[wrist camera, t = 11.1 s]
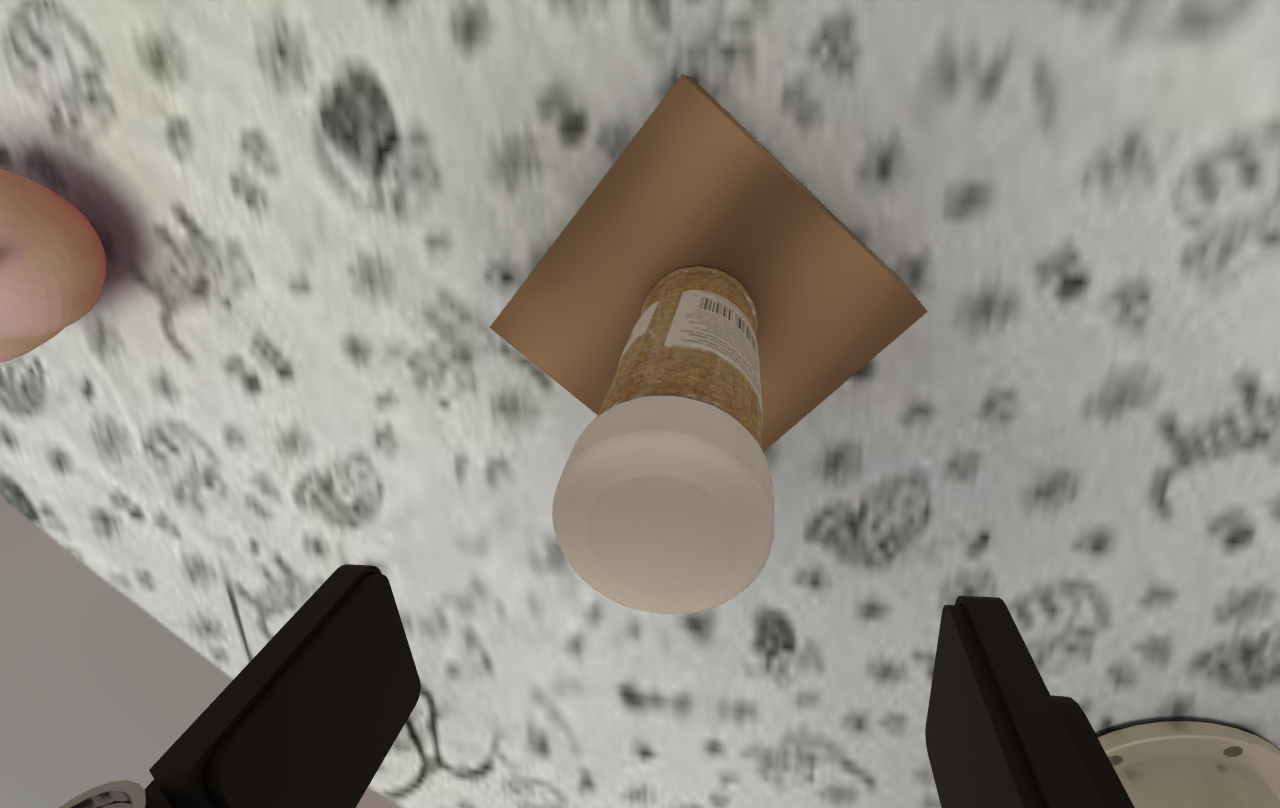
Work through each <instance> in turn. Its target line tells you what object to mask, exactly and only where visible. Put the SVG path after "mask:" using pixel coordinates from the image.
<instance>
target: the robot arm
mask: <svg viewBox="0 0 1280 808" xmlns="http://www.w3.org/2000/svg"><path fill="white" fill-rule="evenodd" d="M420 690H421V684H420V679H419V676H418V673H417V670H416V666H415V663H414V660H413V657H412V654H411V650H410V647H409V644H408V641H407V638H406V634H405V631H404V628H403V625H402V622H401V618H400V615H399V612H398V609H397V606H396V602H395V599H394V596H393V593H392V590H391V586H390V583H389V580H388V578H387V577H386V576H385V575H382V574H381V572H380V570H379V569H378V568H377V567H376V566H368V565H348V564H345V565H342V566H340V567H339V568H338V569H337V570H336V571H335V572H334V573H333V574H332V575H331V576H330V577H329V578H328V579H327V580H326V581H325V582H324V583H323V584H322V586H321V587H320V588H319V589H318V590H317V591H316V592H315V593H314V594H313V595H312V596H311V597H310V598H309V599H308V601H307V602H306V603H305V604H304V605H303V606H302V607H301V608H300V609H299V610H298V611H297V612H296V613H295V614H294V616H293V617H292V618H291V619H290V620H289V621H288V622H287V623H286V624H285V625H284V626H283V627H282V628H281V629H280V631H279V632H278V633H277V634H276V635H275V636H274V637H273V638H272V639H271V640H270V641H269V642H268V643H267V644H266V646H265V647H264V648H263V649H262V650H261V651H260V652H259V653H258V654H257V655H256V656H255V657H254V658H253V659H252V661H251V662H250V663H249V664H248V665H247V666H246V667H245V668H244V669H243V670H242V671H241V672H240V673H239V674H238V676H237V677H236V678H235V679H234V680H233V681H232V682H231V683H230V684H229V685H228V686H227V687H226V688H225V689H224V691H223V692H222V693H221V694H220V695H219V696H218V697H217V698H216V699H215V700H214V701H213V702H212V703H211V704H210V706H209V707H208V708H207V709H206V710H205V711H204V712H203V713H202V714H201V715H200V716H199V717H198V718H197V719H196V721H195V722H194V723H193V724H192V725H191V726H190V727H189V728H188V729H187V730H186V731H185V732H184V733H183V734H182V735H181V737H180V738H179V739H178V740H177V741H176V742H175V743H174V744H173V745H172V746H171V747H170V748H169V749H168V750H167V752H166V753H165V754H164V755H163V756H162V757H161V758H160V759H159V760H158V761H157V762H156V763H155V764H154V765H153V767H152V768H151V769H150V770H149V771H150V773H151V774H152V776H153V777H154V780H153V781H152V782H151V783H150V784H149V785H148V787H147V788H146V789H145V790H144V789H143V788H142V787H141V786H140V785H139V784H138V783H135V782H131V781H127V780H125V781H115V782H109V783H107V784H104V785H100V786H98V787H95V788H92V789H90V790H88V791H86V792H84V793H82V794H81V795H79V796H77V797H75V798H73V799H71V800H70V801H68V802H67V803H65V804H64V805H63V806H61V807H60V808H356V806H357V804H358V803H359V801H360V799H361V797H362V796H363V794H364V792H365V791H366V789H367V787H368V786H369V784H370V782H371V780H372V779H373V777H374V775H375V774H376V772H377V770H378V769H379V767H380V765H381V763H382V762H383V760H384V758H385V757H386V755H387V753H388V751H389V750H390V748H391V746H392V745H393V743H394V741H395V740H396V738H397V736H398V734H399V733H400V731H401V729H402V728H403V726H404V724H405V722H406V721H407V719H408V717H409V716H410V714H411V712H412V711H413V709H414V707H415V705H416V703H417V701H418V699H419V695H420ZM926 745H927V751H928V756H929V760H930V764H931V768H932V772H933V775H934V779H935V783H936V787H937V791H938V795H939V799H940V803H941V807H942V808H1280V750H1278V749H1277V748H1276V747H1275V746H1274V745H1272V744H1270V743H1269V742H1267V741H1265V740H1263V739H1262V738H1260V737H1258V736H1256V735H1253V734H1251V733H1248V732H1245V731H1242V730H1240V729H1237V728H1232V727H1228V726H1223V725H1218V724H1213V723H1205V722H1193V721H1167V722H1155V723H1148V724H1141V725H1135V726H1131V727H1127V728H1124V729H1120V730H1116V731H1112V732H1110V733H1108V734H1105V735H1103V736H1100V737H1098V738H1097V736H1096V734H1095V732H1094V730H1093V728H1092V726H1091V725H1090V723H1089V721H1088V719H1087V717H1086V715H1085V714H1084V712H1083V711H1082V709H1081V707H1080V706H1079V704H1078V703H1077V702H1075V701H1074V700H1073V699H1072V698H1070V697H1064V696H1051V695H1050V694H1049V692H1048V690H1047V688H1046V686H1045V684H1044V682H1043V680H1042V678H1041V676H1040V673H1039V671H1038V669H1037V667H1036V665H1035V663H1034V661H1033V659H1032V657H1031V655H1030V653H1029V651H1028V649H1027V647H1026V645H1025V643H1024V641H1023V639H1022V637H1021V635H1020V633H1019V631H1018V629H1017V627H1016V625H1015V623H1014V621H1013V619H1012V617H1011V614H1010V612H1009V610H1008V608H1007V606H1006V605H1005V603H1004V601H1003V600H1002V599H1000V598H994V597H974V596H958V598H957V599H956V603H955V605H944V607H943V610H942V617H941V624H940V631H939V638H938V645H937V652H936V659H935V666H934V673H933V680H932V687H931V694H930V701H929V708H928V715H927V722H926Z"/></svg>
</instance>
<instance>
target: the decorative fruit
mask: <svg viewBox="0 0 1280 808" xmlns="http://www.w3.org/2000/svg"><path fill="white" fill-rule="evenodd" d="M105 279H106V256H105V251H104V248H103V245H102V243H101V240H100V238H99V236H98V234H97V233H96V231H95V229H94V228H93V226H92V225H91V223H90V222H89V221H88V220H87V218H86V217H85V216H84V215H83V214H82V213H81V212H80V211H79V210H78V209H77V208H76V207H75V206H74V205H72V204H71V203H70V202H68V201H67V200H66V199H64V198H63V197H61V196H60V195H58V194H56V193H55V192H53V191H51V190H50V189H48V188H46V187H44V186H43V185H41V184H39V183H37V182H35V181H32V180H30V179H28V178H25V177H23V176H20V175H18V174H15V173H12V172H10V171H7V170H4V169H0V362H5V361H9V360H12V359H14V358H17V357H19V356H21V355H24V354H26V353H28V352H30V351H32V350H33V349H35V348H37V347H38V346H40V345H42V344H43V343H45V342H46V341H48V340H50V339H51V338H53V337H54V336H55V335H57V334H58V333H59V332H60V331H61V330H62V329H64V328H65V327H66V326H69V325H71V324H72V323H74V322H76V321H77V320H79V319H80V318H81V317H83V316H84V315H85V314H86V313H87V312H88V311H89V310H90V309H91V308H92V307H93V306H94V305H95V303H96V302H97V300H98V299H99V297H100V295H101V292H102V290H103V287H104V283H105Z"/></svg>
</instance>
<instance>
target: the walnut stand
mask: <svg viewBox="0 0 1280 808" xmlns="http://www.w3.org/2000/svg"><path fill="white" fill-rule="evenodd" d="M696 266H700V267H709V268H714V269H718V270H720V271H723V272H725V273H727V274H728V275H730V276H732V277H734V278H735V279H736V280H738V281H739V282H740V284H741V285H742V286H743V287H744V288H745V289H746V290H747V292H748V293H749V296H750V297H751V299H752V300H753V302H754V305H755V308H756V313H757V318H758V324H757V335H756V340H757V346H758V355H759V367H760V382H761V397H762V412H763V426H762V433H761V439H762V451H763V452H764V451H765V450H766V449H767V448H768V447H770V446H771V445H772V444H773V443H774V442H775V441H777V440H778V439H779V438H780V437H781V436H782V435H784V434H785V433H786V432H787V431H788V430H789V429H791V428H792V427H793V426H794V425H795V424H796V423H798V422H799V421H800V420H801V419H802V418H803V417H805V416H806V415H807V414H808V413H809V412H810V411H812V410H813V409H814V408H815V407H816V406H818V405H819V404H820V403H821V402H822V401H823V400H825V399H826V398H827V397H828V396H829V395H830V394H832V393H833V392H834V391H835V390H836V389H837V388H839V387H840V386H841V385H842V384H843V383H844V382H846V381H847V380H848V379H849V378H850V377H851V376H853V375H854V374H855V373H856V372H857V371H858V370H860V369H861V368H862V367H863V366H864V365H865V364H867V363H868V362H869V361H870V360H871V359H873V358H874V357H875V356H876V355H877V354H878V353H880V352H881V351H882V350H883V349H884V348H885V347H887V346H888V345H889V344H890V343H891V342H892V341H894V340H895V339H896V338H897V337H898V336H899V335H901V334H902V333H903V332H904V331H905V330H906V329H908V328H909V327H910V326H911V325H912V324H913V323H915V322H916V321H917V320H918V319H919V318H921V317H922V316H923V315H924V314H925V313H926V312H928V311H927V310H926V309H925V308H924V306H923V305H922V304H921V303H920V301H919V300H918V299H917V298H916V297H915V295H914V294H913V293H912V292H911V291H910V289H909V288H908V287H907V286H906V284H905V283H904V282H903V281H902V280H901V279H900V278H899V277H898V276H897V275H896V274H895V273H894V272H893V271H891V270H890V269H889V268H888V267H887V266H886V265H885V264H884V263H883V262H882V261H881V260H880V259H879V258H878V257H877V256H876V255H875V254H874V253H873V252H872V251H871V250H870V249H869V248H868V247H867V246H866V245H865V244H864V243H863V242H861V241H860V240H859V239H858V238H857V237H856V236H855V235H854V234H853V233H852V232H851V231H850V230H849V229H848V228H847V227H846V226H845V225H844V224H843V223H842V222H841V221H840V220H839V219H838V218H837V217H836V216H835V215H834V214H832V213H831V212H830V211H829V210H828V209H827V208H826V207H825V206H824V205H823V204H822V203H821V202H820V201H819V200H818V199H817V198H816V197H815V196H814V195H813V194H812V193H811V192H810V191H809V190H808V189H807V188H806V187H805V186H803V185H802V184H801V183H800V182H799V181H798V180H797V179H796V178H795V177H794V176H793V175H792V174H791V173H790V172H789V171H788V170H787V169H786V168H785V167H784V166H783V165H782V164H781V163H780V162H779V161H778V160H777V159H776V158H774V157H773V156H772V155H771V154H770V153H769V152H768V151H767V150H766V149H765V148H764V147H763V146H762V145H761V144H760V143H759V142H758V141H757V140H756V139H755V138H754V137H753V136H752V135H751V134H750V133H749V132H748V131H747V130H746V129H744V128H743V127H742V126H741V125H740V124H739V123H738V122H737V121H736V120H735V119H734V118H733V117H732V116H731V115H730V114H729V113H728V112H727V111H726V110H725V109H724V108H723V107H722V106H721V105H720V104H719V103H718V102H717V101H715V100H714V99H713V98H712V97H711V96H710V95H709V94H708V93H707V92H706V91H705V90H704V89H703V88H702V87H701V86H700V85H699V84H698V83H697V82H696V81H695V80H694V79H693V78H692V77H688V76H685V75H681V76H680V78H679V79H678V80H677V82H676V83H675V84H674V86H673V87H672V88H671V89H670V91H669V92H668V93H667V95H666V96H665V97H664V99H663V100H662V101H661V103H660V104H659V105H658V107H657V108H656V109H655V111H654V112H653V113H652V115H651V116H650V117H649V118H648V120H647V121H646V122H645V124H644V125H643V126H642V128H641V129H640V130H639V132H638V133H637V134H636V136H635V137H634V138H633V140H632V141H631V142H630V143H629V145H628V146H627V147H626V149H625V150H624V151H623V153H622V154H621V155H620V157H619V158H618V159H617V161H616V162H615V163H614V165H613V166H612V167H611V168H610V170H609V171H608V172H607V174H606V175H605V176H604V178H603V179H602V180H601V182H600V183H599V184H598V186H597V187H596V188H595V190H594V191H593V192H592V193H591V195H590V196H589V197H588V199H587V200H586V201H585V203H584V204H583V205H582V207H581V208H580V209H579V211H578V212H577V213H576V215H575V216H574V217H573V218H572V220H571V221H570V222H569V224H568V225H567V226H566V228H565V229H564V230H563V232H562V233H561V234H560V236H559V237H558V238H557V240H556V241H555V242H554V243H553V245H552V246H551V247H550V249H549V250H548V251H547V253H546V254H545V255H544V257H543V258H542V259H541V261H540V262H539V263H538V265H537V266H536V267H535V269H534V270H533V271H532V272H531V274H530V275H529V276H528V278H527V279H526V280H525V282H524V283H523V284H522V286H521V287H520V288H519V290H518V291H517V292H516V294H515V295H514V296H513V297H512V299H511V300H510V301H509V303H508V304H507V305H506V307H505V308H504V309H503V311H502V312H501V313H500V315H499V316H498V317H497V319H496V320H495V321H494V322H493V324H492V325H491V326H490V328H491V329H492V330H493V331H495V332H496V333H497V334H498V335H500V336H501V337H502V338H503V339H504V340H506V341H507V342H508V343H509V344H511V345H512V346H513V347H514V348H516V349H517V350H518V351H519V352H521V353H522V354H523V355H524V356H525V357H527V358H528V359H529V360H530V361H532V362H533V363H534V364H535V365H537V366H538V367H539V368H540V369H542V370H543V371H544V372H545V373H546V374H548V375H549V376H550V377H551V378H553V379H554V380H555V381H556V382H558V383H559V384H560V385H561V386H563V387H564V388H565V389H566V390H567V391H569V392H570V393H571V394H572V395H574V396H575V397H576V398H577V399H579V400H580V401H581V402H582V403H584V404H585V405H586V406H587V407H588V408H590V409H591V410H592V411H593V412H595V413H596V414H597V415H598V414H599V411H600V409H601V406H602V404H603V401H604V398H605V397H606V395H607V393H608V391H609V389H610V386H611V384H612V382H613V379H614V377H615V374H616V372H617V370H618V366H619V362H620V359H621V356H622V354H623V351H624V349H625V347H626V345H627V342H628V340H629V338H630V335H631V333H632V331H633V329H634V327H635V325H636V323H637V321H638V320H639V318H640V316H641V311H642V307H643V303H644V301H645V299H646V297H647V295H648V294H649V293H650V291H651V290H652V289H653V288H654V287H655V285H656V284H657V283H658V282H659V281H660V280H661V279H663V278H664V277H665V276H667V275H668V274H670V273H672V272H673V271H675V270H678V269H683V268H688V267H696Z"/></svg>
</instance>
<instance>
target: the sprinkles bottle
mask: <svg viewBox="0 0 1280 808" xmlns="http://www.w3.org/2000/svg"><path fill="white" fill-rule="evenodd" d="M757 324H758V318H757V313H756V308H755V305H754V302H753V300H752V299H751V297H750V296H749V293H748V292H747V290H746V289H745V288H744V287H743V286H742V285H741V284H740V282H739V281H738V280H736V279H735V278H734V277H732V276H730V275H728V274H727V273H725V272H723V271H720V270H718V269H714V268H709V267H700V266H696V267H688V268H683V269H678V270H675V271H673V272H672V273H670V274H668V275H667V276H665V277H664V278H663V279H661V280H660V281H659V282H658V283H657V284H656V285H655V287H654V288H653V289H652V290H651V291H650V293H649V294H648V295H647V297H646V299H645V301H644V303H643V307H642V311H641V316H640V318H639V320H638V321H637V323H636V325H635V327H634V329H633V331H632V333H631V335H630V338H629V340H628V342H627V345H626V347H625V349H624V351H623V354H622V356H621V359H620V362H619V366H618V370H617V372H616V374H615V377H614V379H613V382H612V384H611V386H610V389H609V391H608V393H607V395H606V397H605V398H604V401H603V404H602V406H601V409H600V411H599V414H598V416H597V418H596V419H595V420H593V421H592V422H591V423H590V424H589V425H588V426H587V427H586V429H585V430H584V431H583V433H582V434H581V435H580V437H579V438H578V440H577V442H576V444H575V446H574V448H573V450H572V452H571V454H570V456H569V459H568V461H567V463H566V465H565V468H564V470H563V473H562V475H561V478H560V480H559V483H558V485H557V489H556V492H555V496H554V502H553V524H554V530H555V534H556V538H557V541H558V544H559V547H560V548H561V550H562V552H563V554H564V556H565V558H566V560H567V561H568V562H569V564H570V565H571V566H572V568H573V569H574V570H575V572H576V573H577V574H578V575H579V576H580V577H581V578H582V579H583V580H584V581H585V582H587V583H588V584H589V585H590V586H591V587H593V588H594V589H595V590H597V591H598V592H600V593H601V594H603V595H604V596H606V597H608V598H609V599H611V600H613V601H616V602H618V603H620V604H622V605H625V606H627V607H631V608H634V609H638V610H642V611H647V612H652V613H659V614H686V613H694V612H699V611H703V610H707V609H710V608H713V607H715V606H718V605H720V604H723V603H725V602H727V601H728V600H730V599H732V598H734V597H735V596H736V595H738V594H739V593H741V592H742V591H743V590H745V589H746V588H747V587H748V586H749V585H750V584H751V583H752V582H753V581H754V580H755V579H756V578H757V576H758V575H759V574H760V572H761V570H762V568H763V567H764V566H765V563H766V561H767V558H768V556H769V554H770V550H771V546H772V542H773V536H774V500H773V488H772V479H771V473H770V468H769V465H768V462H767V460H766V457H765V455H764V453H763V451H762V439H761V433H762V426H763V412H762V397H761V382H760V367H759V355H758V346H757V340H756V335H757Z"/></svg>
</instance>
